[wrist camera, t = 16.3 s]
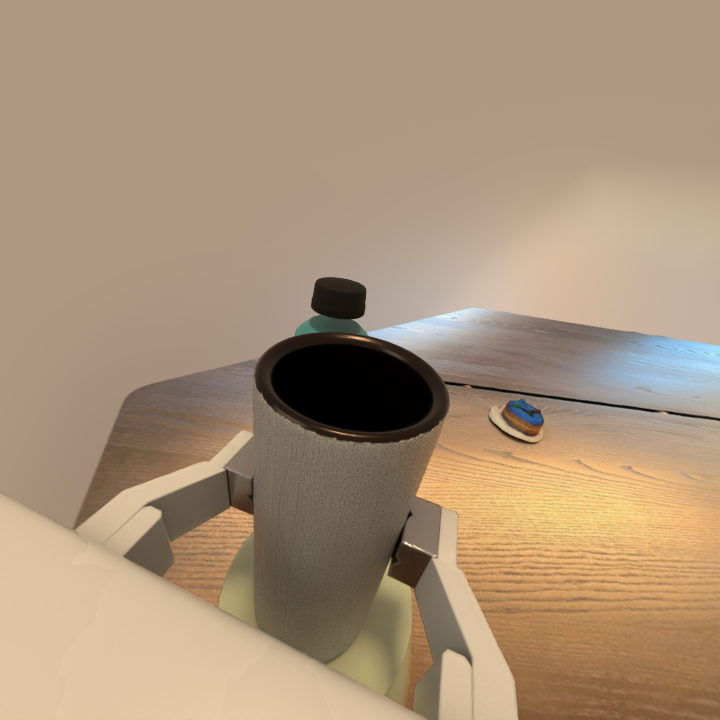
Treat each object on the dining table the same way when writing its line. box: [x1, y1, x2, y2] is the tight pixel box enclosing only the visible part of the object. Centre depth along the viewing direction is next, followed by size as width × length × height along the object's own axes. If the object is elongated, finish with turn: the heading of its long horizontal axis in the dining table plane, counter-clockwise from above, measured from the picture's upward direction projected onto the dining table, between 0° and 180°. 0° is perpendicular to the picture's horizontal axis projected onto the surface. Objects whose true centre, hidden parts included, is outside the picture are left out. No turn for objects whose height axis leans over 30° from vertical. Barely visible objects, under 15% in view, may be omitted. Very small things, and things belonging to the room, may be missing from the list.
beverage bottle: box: [295, 277, 368, 336], centre depth 27 cm, size 6×7×20 cm
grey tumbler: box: [253, 332, 450, 663], centre depth 9 cm, size 4×4×10 cm
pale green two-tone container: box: [215, 532, 412, 707], centre depth 15 cm, size 10×10×12 cm
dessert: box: [489, 399, 544, 442], centre depth 43 cm, size 8×7×6 cm
